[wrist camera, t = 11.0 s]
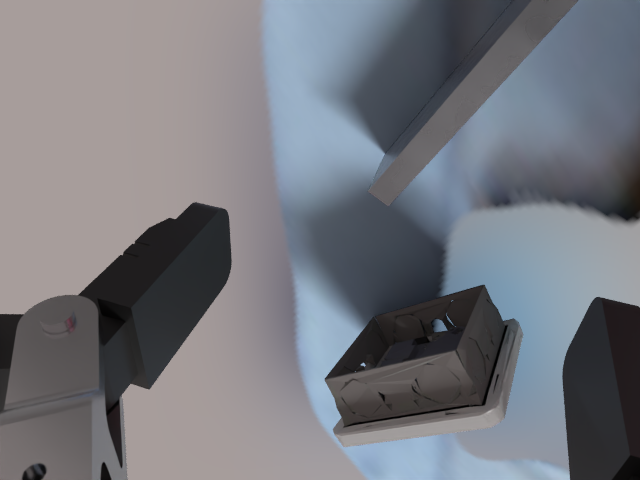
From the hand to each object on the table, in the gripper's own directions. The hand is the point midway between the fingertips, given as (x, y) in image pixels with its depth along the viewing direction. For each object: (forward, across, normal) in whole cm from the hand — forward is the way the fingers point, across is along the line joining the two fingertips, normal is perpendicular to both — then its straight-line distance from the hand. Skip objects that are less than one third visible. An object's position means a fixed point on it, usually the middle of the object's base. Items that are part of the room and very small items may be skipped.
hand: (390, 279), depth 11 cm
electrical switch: (+16, -1, +15) cm, 22 cm away
